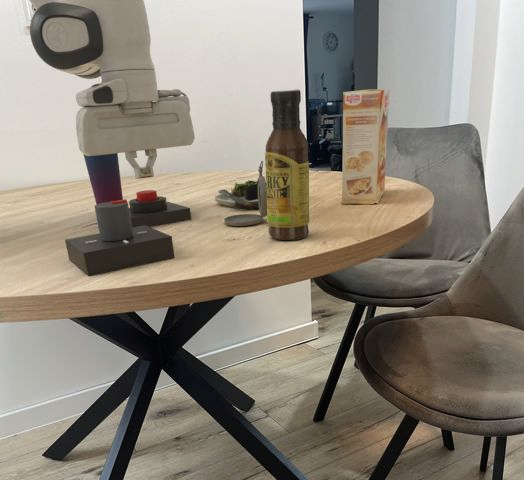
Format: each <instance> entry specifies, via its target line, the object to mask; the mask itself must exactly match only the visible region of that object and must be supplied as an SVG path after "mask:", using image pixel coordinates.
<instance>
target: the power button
mask: <svg viewBox="0 0 524 480" xmlns="http://www.w3.org/2000/svg"><path fill="white" fill-rule="evenodd" d="M157 196H158V192H157V190H155V189H147V190H140V191H137V192H136V198H137V200H138V202H144V201H153V200H157V199H158V198H157Z"/></svg>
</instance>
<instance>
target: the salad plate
mask: <svg viewBox="0 0 524 480" xmlns="http://www.w3.org/2000/svg"><path fill="white" fill-rule="evenodd" d="M217 192H218V194H217V195H215V196H214V202H216V203H218V204H220V205H222V206H224V207H229V208H235V209H240V210H249V211H254V210H255V211H256V210H257V211H259V206H258V195H257V180H256V181H254V180H250V179H247V181H245V182H243V183H238V182H234V186H233V187H231V188H230V192H229V191H228V190H227V189H219V190H218V191H217Z"/></svg>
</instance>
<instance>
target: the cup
mask: <svg viewBox="0 0 524 480" xmlns="http://www.w3.org/2000/svg"><path fill="white" fill-rule="evenodd" d="M82 154H83V153H82ZM118 154H119V153H115V154H106V155H96V156H86V155H84V154H83V158H84V162H85V166H86V170H87V173H88V177H89V182H90V185H91V186H90V187H91V189H92V193H93V196H94V201H95V205H97V204H100V203H105V202H111V201H118V200H124V199H123V198H124V197H123V188H122V179H121V171H120V164H119V155H118Z"/></svg>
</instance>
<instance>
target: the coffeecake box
mask: <svg viewBox="0 0 524 480" xmlns="http://www.w3.org/2000/svg"><path fill="white" fill-rule="evenodd" d="M342 95H343V101H342V102H343V104H342V106H343V107H342V167H341V169H342V171H341V172H342V174H341V175H342V176H341V177H342V180H341V182H342V185H341V187H342V188H341V189H342V190H341V204H342V205H375V204H374V203H377V204H378V203H379V202H380V200H381V198H382V197H383V195H384V193H385V191H386V190H385V188H386V167H387V146H388V145H387V144H388V143H387V142H388V125H389V124H388V121H389V105H390V103H389V102H390V89H381V88H379V89H378V88H375V89H372V88H371V89H363V90H362V89H360V90H352V91H351V90H350V91H343V92H342ZM381 196H382V197H381Z"/></svg>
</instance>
